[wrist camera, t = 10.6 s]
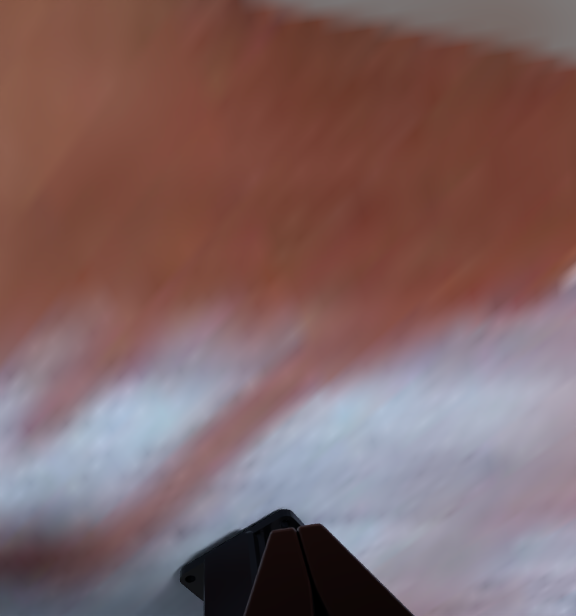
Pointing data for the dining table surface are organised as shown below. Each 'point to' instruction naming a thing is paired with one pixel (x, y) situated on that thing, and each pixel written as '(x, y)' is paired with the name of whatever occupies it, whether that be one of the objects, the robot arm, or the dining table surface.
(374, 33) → the dining table surface
